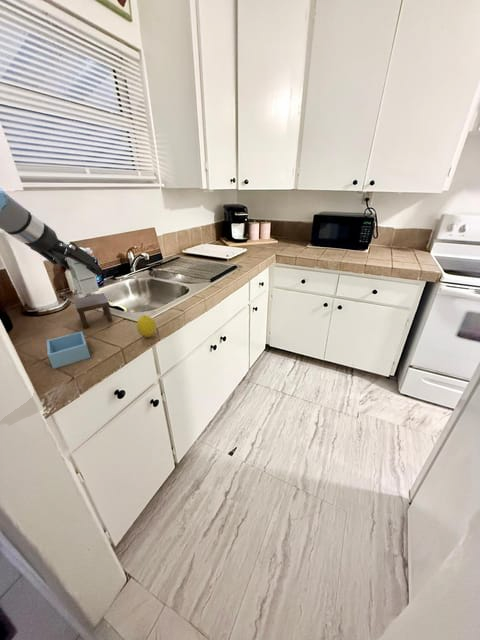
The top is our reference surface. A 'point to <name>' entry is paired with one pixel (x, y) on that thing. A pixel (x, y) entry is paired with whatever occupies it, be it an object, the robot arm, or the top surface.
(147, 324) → the lemon
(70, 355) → the bin
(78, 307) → the stool
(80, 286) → the syrup box
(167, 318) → the top surface
